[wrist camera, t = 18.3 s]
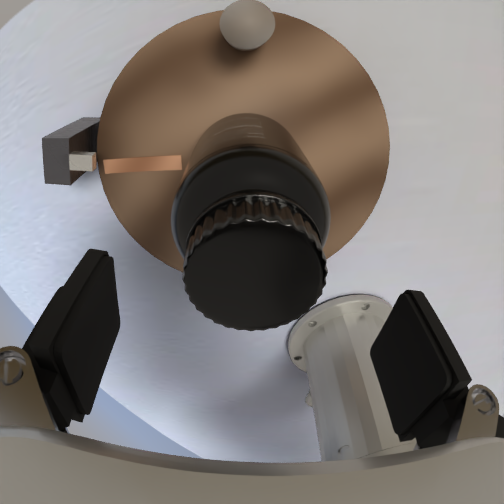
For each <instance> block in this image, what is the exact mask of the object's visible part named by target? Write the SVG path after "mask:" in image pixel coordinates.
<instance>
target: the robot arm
mask: <svg viewBox="0 0 504 504" xmlns="http://www.w3.org/2000/svg"><path fill="white" fill-rule="evenodd" d="M119 328H120V315H119V307H118V299H117V290H116V281H115V271H114V260H113V257H110V256H109V255H108V252H107V251H102V250H96V249H89V250H88V251H87V252H86V254H85V255H84V257H83V258H82V260H81V261H80V262H79V264H78V265H77V267H76V268H75V270H74V271H73V273H72V274H71V276H70V277H69V279H68V280H67V282H66V283H65V285H64V286H62V287H60V288H59V289H58V290H57V291H56V293H55V295H54V296H53V298H52V299H51V301H50V302H49V304H48V306H47V307H46V309H45V310H44V312H43V314H42V315H41V317H40V319H39V320H38V322H37V324H36V325H35V327H34V329H33V330H32V332H31V334H30V336H29V337H28V339H27V341H26V342H25V344H24V346H23V348H22V349H21V348H19V347H15V346H7V347H2V348H0V504H504V418H503V417H502V416H500V415H499V403H498V400H497V398H496V396H495V394H494V393H493V392H492V391H491V390H490V389H489V388H487V387H485V386H483V385H478V384H476V385H473V386H472V387H471V388H470V389H468V387H467V385H468V384H469V383H470V382H471V380H472V379H471V377H470V375H469V373H468V371H467V369H466V367H465V365H464V363H463V361H462V359H461V358H460V356H459V354H458V352H457V350H456V348H455V346H454V345H453V343H452V341H451V339H450V337H449V336H448V334H447V332H446V330H445V329H444V327H443V325H442V323H441V322H440V320H439V318H438V317H437V315H436V313H435V311H434V310H433V308H432V306H431V305H430V303H429V302H428V300H427V298H426V297H425V295H424V294H423V292H421V291H414V290H406V291H405V292H404V293H403V294H401V295H400V296H399V297H398V299H397V301H396V303H395V305H394V307H392V306H391V305H390V304H389V303H388V302H386V301H385V300H383V299H381V298H378V297H375V296H370V295H350V296H344V297H339V298H336V299H333V300H330V301H328V302H325V303H323V304H321V305H319V306H317V307H316V308H314V309H312V310H311V311H309V312H308V313H307V314H306V315H304V316H303V317H302V318H301V319H300V320H299V321H298V322H297V324H296V325H295V326H294V327H293V329H292V331H291V333H290V336H289V340H288V349H289V355H290V358H291V360H292V362H293V363H294V364H295V365H296V366H297V367H298V368H299V369H301V370H303V371H304V372H307V375H308V381H309V386H310V391H309V393H308V394H307V396H306V398H305V402H306V403H307V405H309V406H311V407H313V410H314V416H315V422H316V428H317V435H318V441H319V448H320V454H321V461H322V462H302V463H258V462H236V461H221V460H210V459H200V458H191V457H182V456H176V455H169V454H162V453H156V452H151V451H145V450H139V449H134V448H129V447H124V446H119V445H115V444H110V443H105V442H102V441H97V440H94V439H89V438H85V437H81V436H77V435H73V434H70V433H69V431H68V429H67V427H68V426H69V425H70V422H71V419H72V420H75V421H78V422H83V419H84V415H85V414H87V415H89V414H90V412H91V410H92V407H93V404H94V400H95V397H96V394H97V391H98V388H99V385H100V382H101V379H102V376H103V373H104V370H105V368H106V365H107V362H108V359H109V356H110V353H111V351H112V348H113V345H114V343H115V340H116V337H117V335H118V332H119Z"/></svg>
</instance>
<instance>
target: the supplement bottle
mask: <svg viewBox="0 0 504 504" xmlns="http://www.w3.org/2000/svg"><path fill="white" fill-rule="evenodd" d="M330 224H331V211H330V204H329V200H328V197H327V194H326V192H325V189H324V187H323V185H322V183H321V181H320V179H319V178H318V176H317V174H316V173H315V171H314V169H313V168H312V166H311V165H310V163H309V161H308V160H307V158H306V157H305V155H304V154H303V152H302V150H301V149H300V147H299V146H298V144H297V143H296V141H295V140H294V138H293V137H292V136H291V134H290V133H289V132H288V131H287V130H286V129H285V128H284V127H283V126H282V125H281V124H279V123H278V122H276V121H275V120H273V119H271V118H269V117H266V116H263V115H260V114H254V113H239V114H233V115H230V116H227V117H224V118H222V119H220V120H218V121H217V122H215V123H214V124H212V125H211V126H210V127H209V128H208V129H207V130H206V131H205V132H204V133H203V134H202V136H201V137H200V139H199V140H198V142H197V144H196V146H195V148H194V150H193V153H192V155H191V157H190V159H189V162H188V164H187V166H186V169H185V171H184V173H183V176H182V178H181V181H180V183H179V185H178V188H177V190H176V193H175V196H174V200H173V204H172V208H171V231H172V235H173V239H174V242H175V245H176V247H177V249H178V251H179V253H180V254H181V256H182V258H183V259H184V263H183V269H184V271H183V281H184V283H185V291H186V293H187V294H188V295H189V299H190V301H191V302H192V303H193V304H194V305H195V306H196V309H197V310H198V311H200V312H202V313H203V314H204V316H205V317H206V318H209V319H212V320H213V322H215V323H217V324H222V325H223V326H225V327H227V328H234V329H237V330H248V331H254V330H266V329H269V328H277V327H279V326H281V325H286V324H288V323H290V322H291V321H293V320H296V319H298V318H299V317H300V316H301V315H302V314H304V313H306V312H308V311H309V309H310V307H312V306H313V305H314V304H316V302H317V299H318V298H319V297H320V296H321V295H322V289H323V288H324V286H325V285H326V276H327V273H328V270H327V267H326V256H325V254H324V251H323V248H324V246H325V243H326V241H327V238H328V234H329V230H330Z"/></svg>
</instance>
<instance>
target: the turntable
mask: <svg viewBox="0 0 504 504" xmlns="http://www.w3.org/2000/svg"><path fill="white" fill-rule="evenodd" d="M239 113H254V114H260V115H263V116H266V117H269V118H271V119H273V120H275V121H276V122H278V123H279V124H281V125H282V126H283V127H284V128H285V129H286V130H287V131H288V132H289V133H290V134H291V136H292V137H293V138H294V140H295V141H296V143H297V144H298V146H299V147H300V149H301V150H302V152H303V154H304V155H305V157H306V158H307V160H308V161H309V163H310V165H311V166H312V168H313V169H314V171H315V173H316V174H317V176H318V178H319V179H320V181H321V183H322V185H323V187H324V189H325V192H326V194H327V197H328V200H329V204H330V211H331V224H330V230H329V234H328V238H327V241H326V243H325V246H324V248H323V251H324V254H325V256H326V259H328V258H329V257H331V256H332V255H333V254H335V253H336V252H337V251H339V250H340V249H341V248H342V247H343V246H344V245H345V244H347V243H348V242H349V241H350V240H351V239H352V238H353V237H354V235H355V234H356V233H357V232H358V231H359V230H360V228H361V227H362V226H363V225H364V223H365V222H366V220H367V219H368V217H369V216H370V214H371V213H372V211H373V209H374V207H375V205H376V203H377V201H378V199H379V197H380V194H381V191H382V188H383V185H384V182H385V179H386V174H387V169H388V164H389V150H390V142H389V128H388V123H387V119H386V114H385V110H384V107H383V104H382V101H381V99H380V96H379V93H378V91H377V89H376V87H375V86H374V84H373V82H372V80H371V78H370V77H369V75H368V73H367V72H366V71H365V69H364V68H363V67H362V65H361V64H360V63H359V61H358V60H357V59H356V58H355V57H354V56H353V55H352V54H351V53H350V52H349V51H348V50H347V49H346V48H345V47H344V46H343V45H342V44H341V43H340V42H338V41H337V40H335V39H334V38H333V37H331V36H330V35H329V34H327V33H326V32H324V31H323V30H321V29H319V28H317V27H315V26H313V25H311V24H309V23H307V22H305V21H303V20H300V19H297V18H294V17H291V16H289V15H286V14H282V13H277V12H272V11H271V10H270V9H269V8H268V7H267V6H266V5H264V4H263V3H261V2H259V1H256V0H239V1H236V2H234V3H232V4H230V5H229V6H228V7H227V8H226V9H225V10H222V11H215V12H211V13H207V14H203V15H200V16H196V17H193V18H191V19H188V20H186V21H183V22H181V23H179V24H176V25H174V26H173V27H171V28H169V29H168V30H166V31H164V32H163V33H161V34H159V35H158V36H156V37H155V38H154V39H152V40H151V41H150V42H149V43H147V44H146V45H145V46H144V47H143V48H141V49H140V50H139V51H138V52H137V53H136V54H135V56H134V57H133V58H132V59H131V60H130V61H129V62H128V63H127V64H126V66H125V67H124V69H123V70H122V71H121V73H120V74H119V76H118V77H117V79H116V81H115V82H114V84H113V86H112V88H111V90H110V92H109V94H108V97H107V99H106V101H105V104H104V108H103V111H102V114H101V117H100V122H99V129H98V135H97V159H98V167H99V174H100V178H101V182H102V185H103V189H104V192H105V194H106V196H107V199H108V201H109V204H110V206H111V208H112V209H113V211H114V213H115V215H116V216H117V218H118V220H119V221H120V223H121V224H122V225H123V227H124V228H125V229H126V230H127V232H128V233H129V234H130V235H131V236H132V237H133V238H134V239H135V240H136V241H137V242H138V243H139V244H140V245H141V246H142V247H143V248H144V249H145V250H147V251H148V252H149V253H150V254H152V255H153V256H154V257H156V258H157V259H159V260H160V261H162V262H164V263H165V264H167V265H169V266H171V267H173V268H175V269H177V270H179V271H181V272H183V271H184V269H183V263H184V259H183V258H182V256H181V254H180V253H179V251H178V249H177V247H176V245H175V242H174V239H173V235H172V231H171V208H172V204H173V200H174V196H175V193H176V190H177V188H178V185H179V183H180V181H181V178H182V176H183V173H184V171H185V169H186V166H187V164H188V162H189V159H190V157H191V155H192V153H193V150H194V148H195V146H196V144H197V142H198V140H199V139H200V137H201V136H202V134H203V133H204V132H205V131H206V130H207V129H208V128H209V127H210V126H211V125H212V124H214V123H215V122H217V121H218V120H220V119H222V118H224V117H227V116H230V115H233V114H239Z"/></svg>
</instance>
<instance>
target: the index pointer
mask: <svg viewBox="0 0 504 504" xmlns="http://www.w3.org/2000/svg"><path fill="white" fill-rule="evenodd" d="M99 122H100V118H81V119H79V120H77V121H75V122H73V123H70V124H68V125H66V126H64V127H62V128H60V129H58V130H56V131H55V132H53V133H51V134H49V135H47V136H45V137H43V138H42V149H43V165H44V177H45V183H46V184H61V185H71V184H73V183H74V182H75V181H76V180H77V179H78V178H79V177H80V176H82V175H83V174H84V173H85V172H86V171H93V170H95V169H96V163H97V162H98V159H97V135H98V129H99Z"/></svg>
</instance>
